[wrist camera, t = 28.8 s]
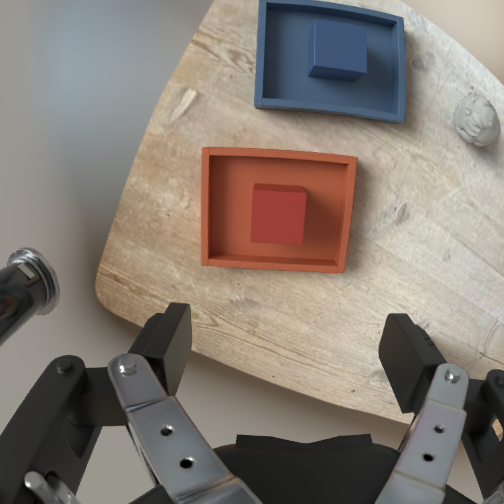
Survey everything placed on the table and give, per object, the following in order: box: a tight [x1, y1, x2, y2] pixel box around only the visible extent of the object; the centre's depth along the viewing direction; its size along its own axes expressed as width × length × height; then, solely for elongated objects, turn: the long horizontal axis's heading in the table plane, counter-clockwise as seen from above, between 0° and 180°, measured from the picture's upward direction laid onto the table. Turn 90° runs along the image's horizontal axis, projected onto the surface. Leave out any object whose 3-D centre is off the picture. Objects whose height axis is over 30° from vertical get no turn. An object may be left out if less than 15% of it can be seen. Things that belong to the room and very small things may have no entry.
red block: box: [250, 183, 307, 245], centre depth 32 cm, size 5×5×5 cm
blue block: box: [308, 19, 367, 82], centre depth 26 cm, size 5×5×5 cm
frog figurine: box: [454, 92, 500, 147], centre depth 27 cm, size 6×7×7 cm
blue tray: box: [254, 0, 405, 124], centre depth 28 cm, size 16×13×3 cm
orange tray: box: [201, 147, 357, 273], centre depth 34 cm, size 16×13×3 cm
